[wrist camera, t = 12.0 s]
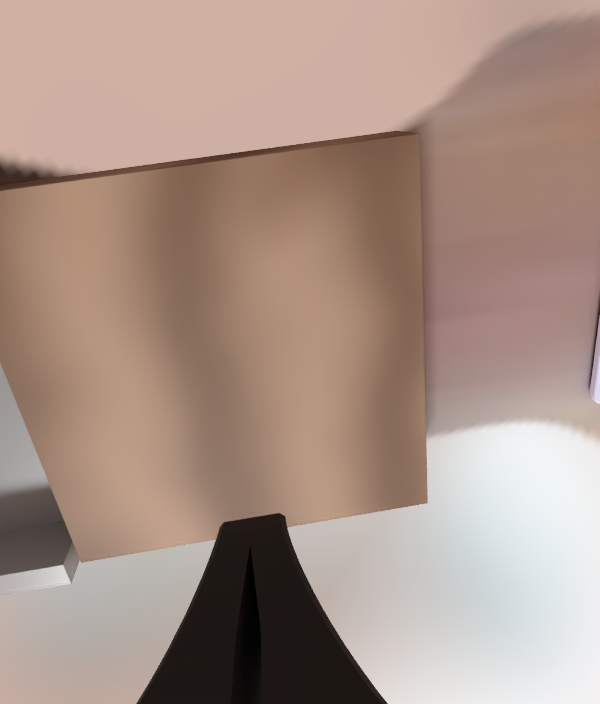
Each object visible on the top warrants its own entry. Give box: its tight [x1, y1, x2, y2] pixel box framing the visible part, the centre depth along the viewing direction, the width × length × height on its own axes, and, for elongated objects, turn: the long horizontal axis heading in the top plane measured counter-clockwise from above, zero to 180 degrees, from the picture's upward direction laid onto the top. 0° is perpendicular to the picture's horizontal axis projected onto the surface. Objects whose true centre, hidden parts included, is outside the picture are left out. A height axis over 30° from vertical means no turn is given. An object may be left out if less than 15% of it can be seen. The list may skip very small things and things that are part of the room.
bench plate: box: [0, 131, 427, 562], centre depth 19 cm, size 14×14×2 cm
